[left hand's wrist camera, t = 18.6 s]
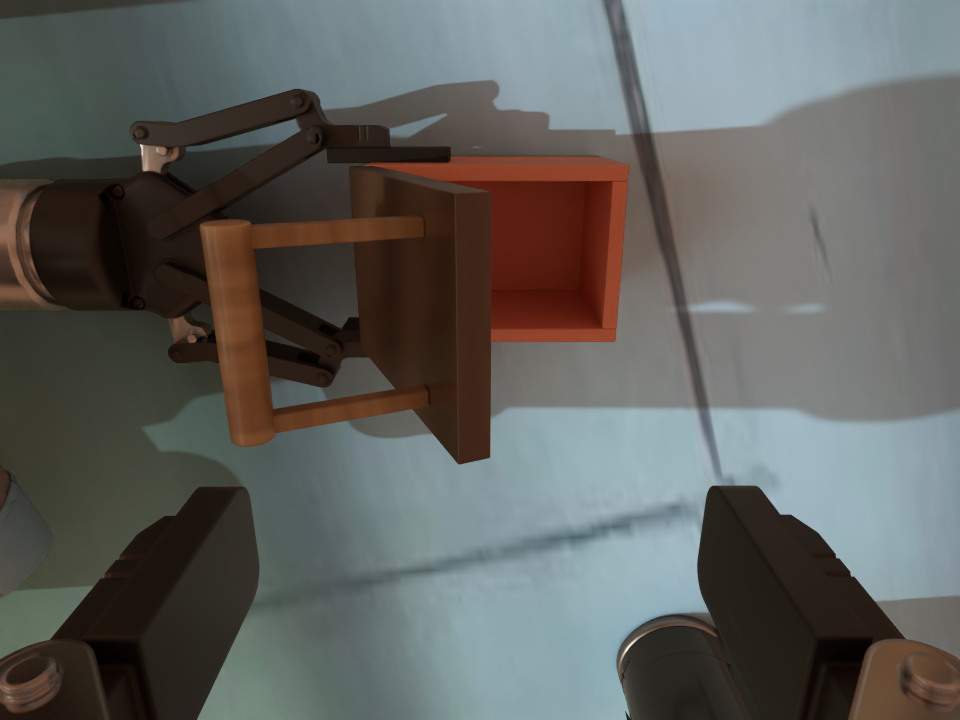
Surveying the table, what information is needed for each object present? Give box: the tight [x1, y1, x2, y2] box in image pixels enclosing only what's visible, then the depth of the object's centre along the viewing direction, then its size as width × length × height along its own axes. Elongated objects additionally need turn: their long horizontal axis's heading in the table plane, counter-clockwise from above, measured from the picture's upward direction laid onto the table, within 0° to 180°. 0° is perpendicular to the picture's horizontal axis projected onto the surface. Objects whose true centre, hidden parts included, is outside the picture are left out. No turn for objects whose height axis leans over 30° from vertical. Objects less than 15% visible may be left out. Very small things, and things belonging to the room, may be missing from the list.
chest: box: [364, 156, 629, 342], centre depth 39 cm, size 14×10×10 cm
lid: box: [200, 166, 492, 464], centre depth 26 cm, size 14×10×9 cm
